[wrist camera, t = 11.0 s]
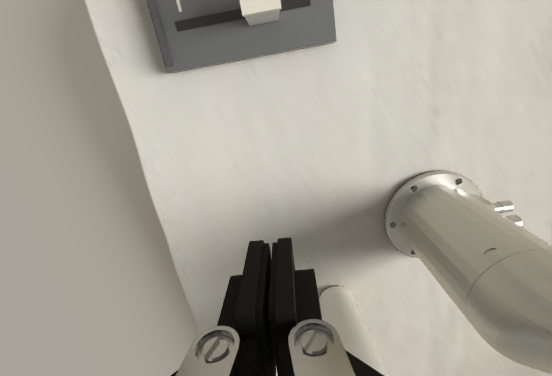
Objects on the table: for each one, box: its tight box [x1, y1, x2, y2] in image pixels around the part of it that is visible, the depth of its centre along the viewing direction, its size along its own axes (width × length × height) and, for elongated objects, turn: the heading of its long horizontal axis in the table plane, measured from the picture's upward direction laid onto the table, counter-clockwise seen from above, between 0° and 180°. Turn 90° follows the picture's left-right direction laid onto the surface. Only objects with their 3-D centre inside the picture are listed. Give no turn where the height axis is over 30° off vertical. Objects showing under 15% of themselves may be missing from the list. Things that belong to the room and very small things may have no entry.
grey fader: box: [240, 0, 281, 26], centre depth 26 cm, size 3×3×6 cm
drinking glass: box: [319, 286, 389, 376], centre depth 37 cm, size 7×7×15 cm
